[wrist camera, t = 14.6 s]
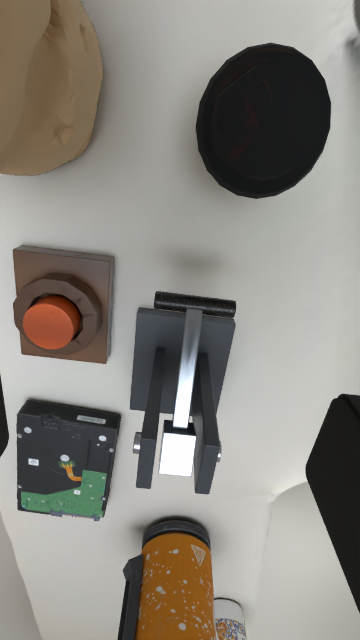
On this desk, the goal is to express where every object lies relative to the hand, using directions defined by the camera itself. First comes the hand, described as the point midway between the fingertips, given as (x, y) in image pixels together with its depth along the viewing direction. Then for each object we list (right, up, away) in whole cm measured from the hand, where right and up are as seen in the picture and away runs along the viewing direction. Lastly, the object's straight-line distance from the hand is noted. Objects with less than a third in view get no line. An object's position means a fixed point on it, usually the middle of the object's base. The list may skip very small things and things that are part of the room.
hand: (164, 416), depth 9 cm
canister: (-1, -26, +35) cm, 43 cm away
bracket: (0, -2, +23) cm, 24 cm away
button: (-10, +3, +18) cm, 21 cm away
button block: (-10, +4, +21) cm, 24 cm away
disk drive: (-12, -13, +29) cm, 34 cm away
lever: (+1, -1, +14) cm, 14 cm away
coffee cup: (+5, +16, +16) cm, 23 cm away
